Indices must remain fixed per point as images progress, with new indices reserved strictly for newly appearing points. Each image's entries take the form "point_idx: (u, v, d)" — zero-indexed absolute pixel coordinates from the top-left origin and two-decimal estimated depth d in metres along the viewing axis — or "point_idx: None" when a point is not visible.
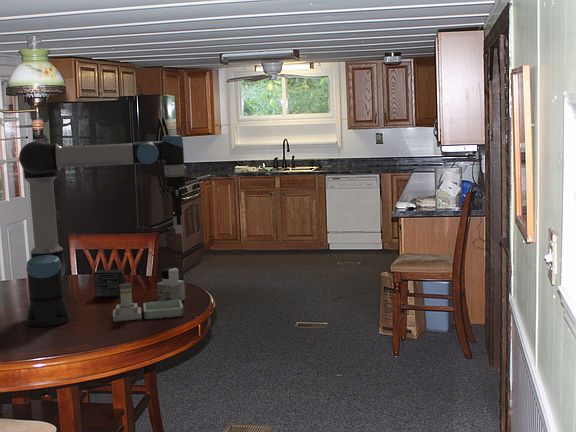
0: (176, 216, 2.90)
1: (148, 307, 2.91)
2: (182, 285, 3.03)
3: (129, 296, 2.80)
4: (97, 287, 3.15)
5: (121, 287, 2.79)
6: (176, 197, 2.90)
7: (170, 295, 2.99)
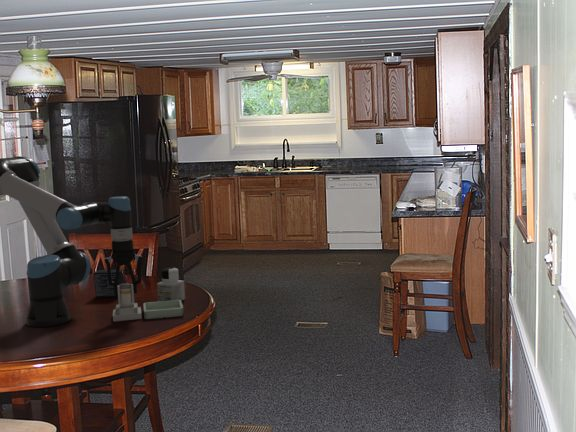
0: None
1: (148, 307, 2.91)
2: (182, 285, 3.03)
3: (129, 296, 2.80)
4: (97, 287, 3.15)
5: (121, 287, 2.79)
6: None
7: (170, 295, 2.99)
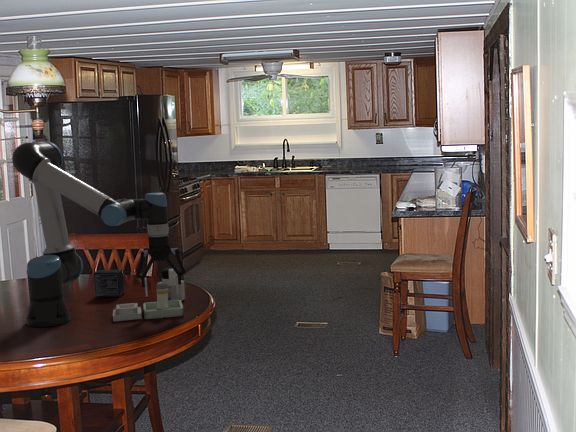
0: None
1: (148, 307, 2.91)
2: (182, 285, 3.03)
3: (166, 296, 2.83)
4: (97, 287, 3.15)
5: (158, 287, 2.82)
6: (140, 258, 2.82)
7: (170, 295, 2.99)
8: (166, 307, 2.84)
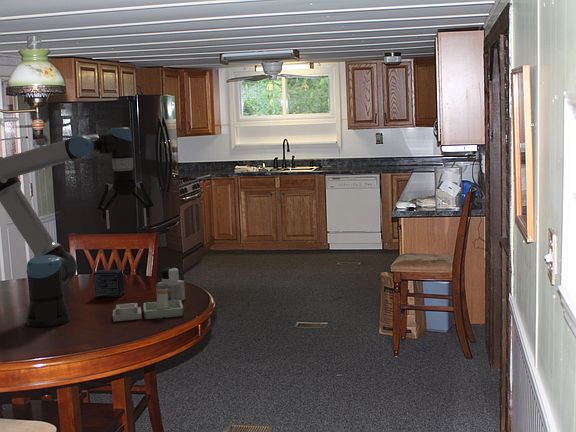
0: (106, 210, 2.86)
1: (148, 307, 2.91)
2: (182, 285, 3.03)
3: (165, 296, 2.84)
4: (97, 287, 3.15)
5: (158, 287, 2.83)
6: None
7: (170, 295, 2.99)
8: (166, 307, 2.84)
